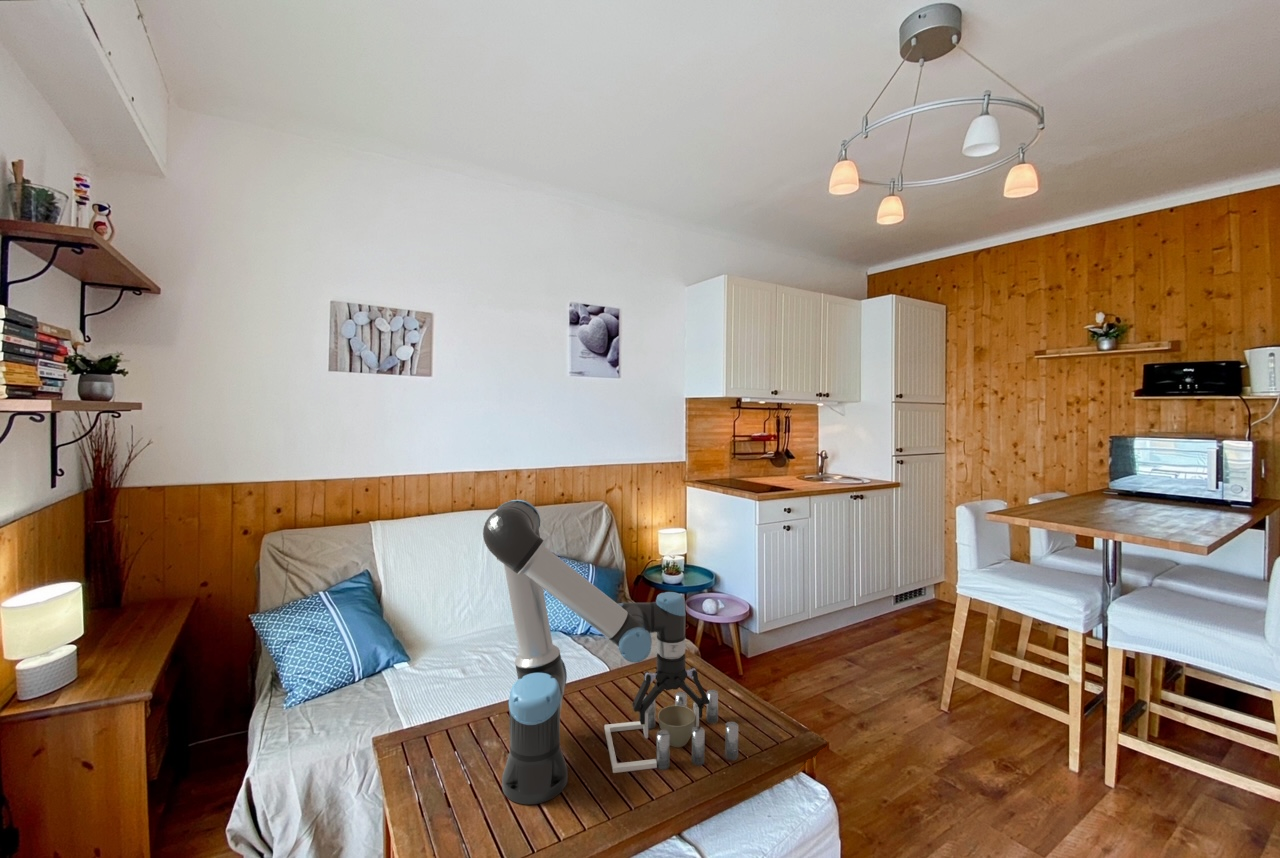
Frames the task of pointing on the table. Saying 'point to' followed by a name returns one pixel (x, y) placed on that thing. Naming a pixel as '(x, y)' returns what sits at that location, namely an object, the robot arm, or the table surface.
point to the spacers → (694, 733)
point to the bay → (615, 766)
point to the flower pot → (677, 723)
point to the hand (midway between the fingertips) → (671, 732)
